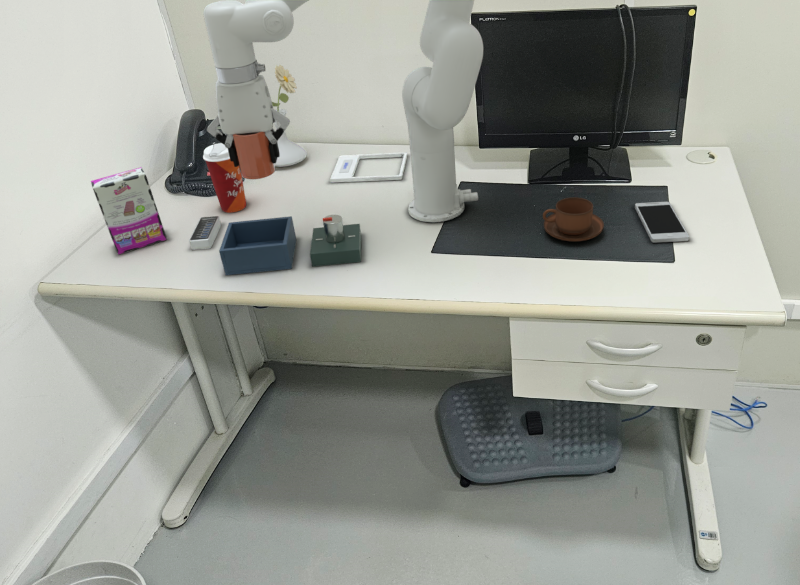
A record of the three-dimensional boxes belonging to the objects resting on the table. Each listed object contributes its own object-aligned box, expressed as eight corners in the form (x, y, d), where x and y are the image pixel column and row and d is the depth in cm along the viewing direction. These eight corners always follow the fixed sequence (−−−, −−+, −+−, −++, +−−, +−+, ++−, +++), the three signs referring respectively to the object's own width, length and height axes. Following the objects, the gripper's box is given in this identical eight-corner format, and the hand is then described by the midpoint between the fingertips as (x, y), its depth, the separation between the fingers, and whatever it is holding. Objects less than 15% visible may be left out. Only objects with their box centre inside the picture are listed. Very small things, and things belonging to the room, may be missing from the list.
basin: (296, 239, 154) (291, 216, 151) (291, 268, 144) (286, 244, 141) (234, 245, 155) (228, 222, 151) (225, 275, 145) (218, 251, 141)
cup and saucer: (554, 251, 141) (555, 223, 137) (535, 223, 151) (536, 197, 147) (612, 241, 142) (615, 214, 138) (590, 214, 152) (591, 188, 148)
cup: (277, 163, 145) (269, 121, 140) (273, 177, 139) (264, 134, 134) (244, 166, 145) (234, 124, 140) (238, 180, 139) (228, 137, 134)
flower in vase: (289, 173, 184) (270, 77, 170) (257, 166, 190) (236, 73, 176) (320, 154, 193) (305, 62, 179) (288, 148, 199) (271, 58, 185)
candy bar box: (163, 231, 163) (142, 165, 154) (167, 240, 160) (146, 173, 150) (113, 246, 160) (89, 179, 150) (117, 255, 156) (92, 187, 147)
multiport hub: (191, 250, 155) (188, 240, 154) (202, 225, 164) (200, 217, 163) (210, 248, 155) (208, 239, 153) (221, 224, 164) (219, 215, 162)
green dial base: (361, 235, 153) (359, 222, 151) (360, 262, 144) (359, 248, 142) (315, 240, 153) (313, 227, 152) (312, 266, 144) (309, 253, 142)
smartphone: (652, 242, 140) (652, 238, 139) (634, 206, 152) (634, 202, 152) (689, 240, 139) (690, 236, 138) (668, 205, 152) (668, 201, 151)
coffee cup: (243, 215, 167) (229, 155, 158) (211, 214, 168) (195, 155, 160) (256, 199, 173) (243, 141, 165) (225, 198, 175) (210, 141, 167)
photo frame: (339, 154, 188) (407, 151, 186) (340, 158, 189) (407, 155, 187) (329, 178, 176) (401, 175, 174) (330, 182, 177) (401, 179, 175)
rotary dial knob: (345, 232, 149) (342, 212, 146) (344, 241, 145) (341, 221, 143) (326, 234, 149) (322, 214, 146) (325, 243, 145) (321, 223, 143)
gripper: (286, 62, 134) (301, 151, 144) (195, 71, 134) (216, 158, 144) (281, 74, 128) (297, 166, 138) (186, 83, 128) (209, 174, 138)
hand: (256, 161), depth 141 cm, fingers closed on cup, 6 cm apart
